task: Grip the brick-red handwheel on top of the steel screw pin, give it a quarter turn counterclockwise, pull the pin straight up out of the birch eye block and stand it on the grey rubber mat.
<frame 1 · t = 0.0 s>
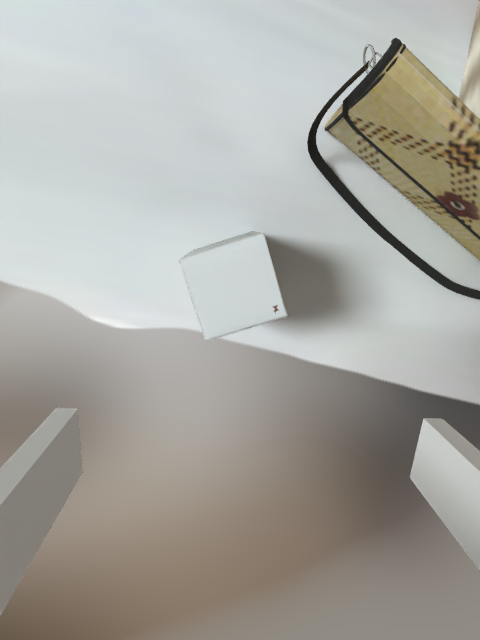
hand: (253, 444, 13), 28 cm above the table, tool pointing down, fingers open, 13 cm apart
clutch purse: (402, 214, 38), on the table
supplement box: (231, 270, 39), on the table
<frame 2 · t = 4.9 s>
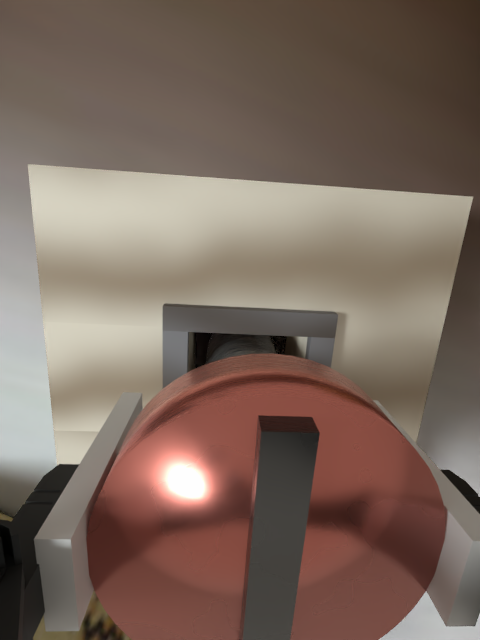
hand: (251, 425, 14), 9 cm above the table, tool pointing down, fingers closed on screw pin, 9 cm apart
clutch purse: (57, 556, 27), on the table
eye block: (240, 351, 22), on the table
screw pin: (248, 410, 15), in the eye block, touching gripper
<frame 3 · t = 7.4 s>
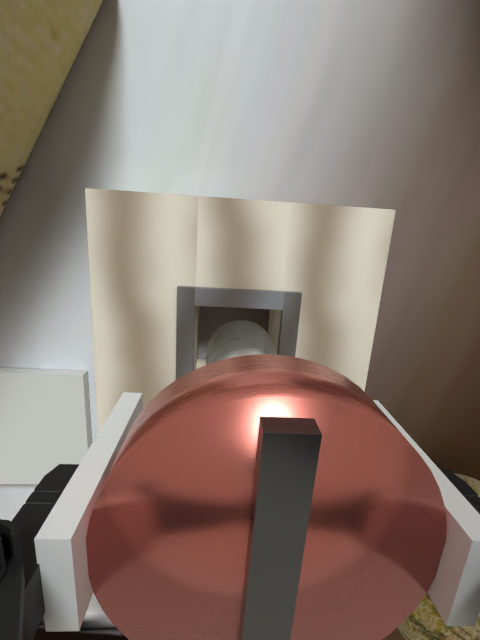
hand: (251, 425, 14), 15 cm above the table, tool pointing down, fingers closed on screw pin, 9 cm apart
rubber mat: (28, 425, 30), on the table
eye block: (233, 327, 29), on the table
cantaloupe: (414, 499, 35), on the table
screw pin: (249, 411, 15), point 14 cm above the table, touching gripper
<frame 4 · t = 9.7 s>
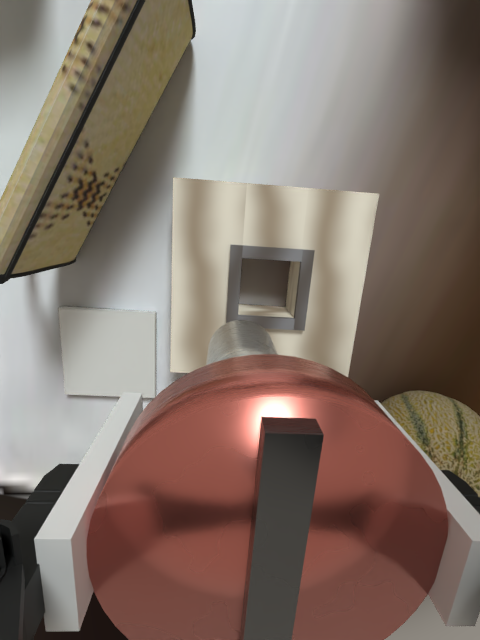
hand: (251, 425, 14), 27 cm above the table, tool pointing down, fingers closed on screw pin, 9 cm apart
clutch purse: (106, 144, 35), on the table
rubber mat: (111, 352, 41), on the table
eye block: (263, 280, 40), on the table
cantaloupe: (396, 419, 46), on the table
screw pin: (249, 411, 15), point 26 cm above the table, touching gripper
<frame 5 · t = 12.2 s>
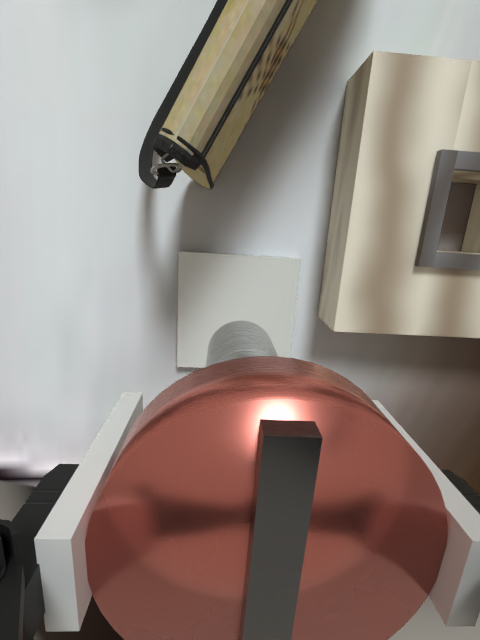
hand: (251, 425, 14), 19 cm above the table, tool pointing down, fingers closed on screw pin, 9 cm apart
clutch purse: (257, 26, 26), on the table
rubber mat: (236, 312, 32), on the table
eye block: (437, 216, 31), on the table
screw pin: (249, 412, 15), point 18 cm above the table, touching gripper
when the fingers open (11 cm above the table, at t = 14.6 s): screw pin stays where it is, resting on rubber mat.
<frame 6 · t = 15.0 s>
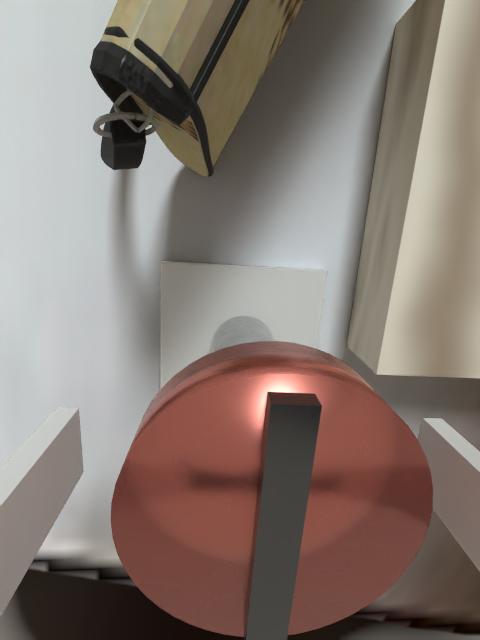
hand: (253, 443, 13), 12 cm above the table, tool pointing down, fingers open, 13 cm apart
rubber mat: (239, 341, 24), on the table
screw pin: (252, 399, 16), on the rubber mat, point 9 cm above the table
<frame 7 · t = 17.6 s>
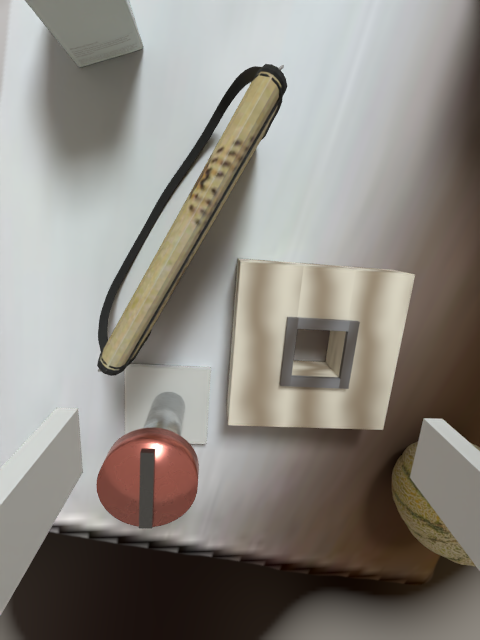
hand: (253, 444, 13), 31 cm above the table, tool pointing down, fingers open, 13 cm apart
clutch purse: (178, 227, 40), on the table
rubber mat: (168, 403, 45), on the table
supplement box: (99, 20, 34), on the table
eye block: (306, 339, 44), on the table
cantaloupe: (419, 458, 51), on the table
screw pin: (159, 440, 37), on the rubber mat, point 9 cm above the table
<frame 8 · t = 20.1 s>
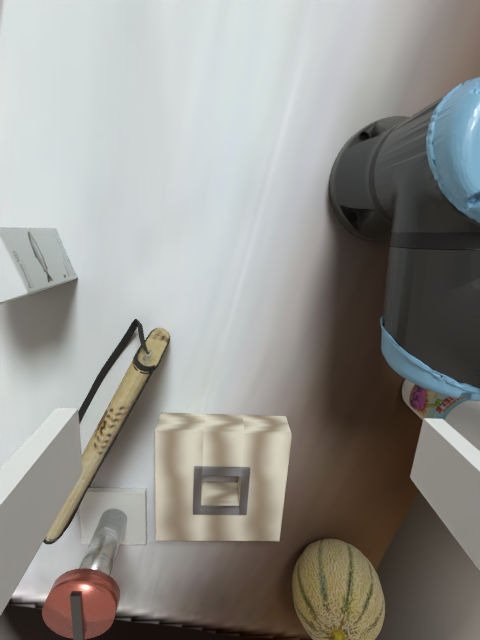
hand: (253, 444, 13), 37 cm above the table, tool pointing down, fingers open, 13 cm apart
clutch purse: (114, 392, 52), on the table
rubber mat: (114, 514, 58), on the table
supplement box: (44, 260, 46), on the table
eye block: (221, 467, 56), on the table
milk bottle: (422, 386, 54), on the table
cantaloupe: (323, 549, 62), on the table
screw pin: (98, 562, 49), on the rubber mat, point 9 cm above the table
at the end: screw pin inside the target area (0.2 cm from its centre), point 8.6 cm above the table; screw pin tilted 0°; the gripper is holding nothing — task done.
